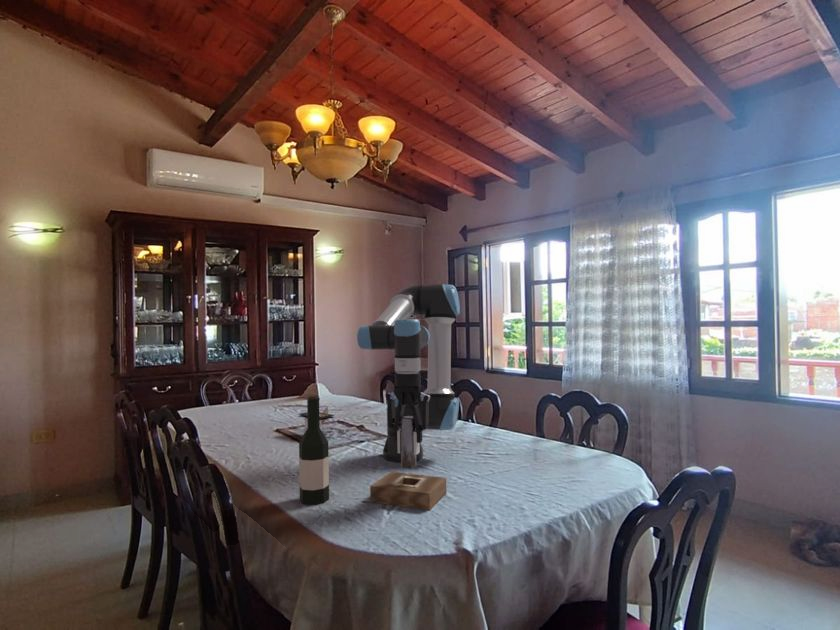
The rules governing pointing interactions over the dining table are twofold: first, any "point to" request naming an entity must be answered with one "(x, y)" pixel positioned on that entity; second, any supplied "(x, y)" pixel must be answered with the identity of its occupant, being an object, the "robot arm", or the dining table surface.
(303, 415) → the architectural model
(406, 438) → the peg
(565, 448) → the dining table surface
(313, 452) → the wine bottle
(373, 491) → the socket
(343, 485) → the dining table surface
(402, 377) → the robot arm
